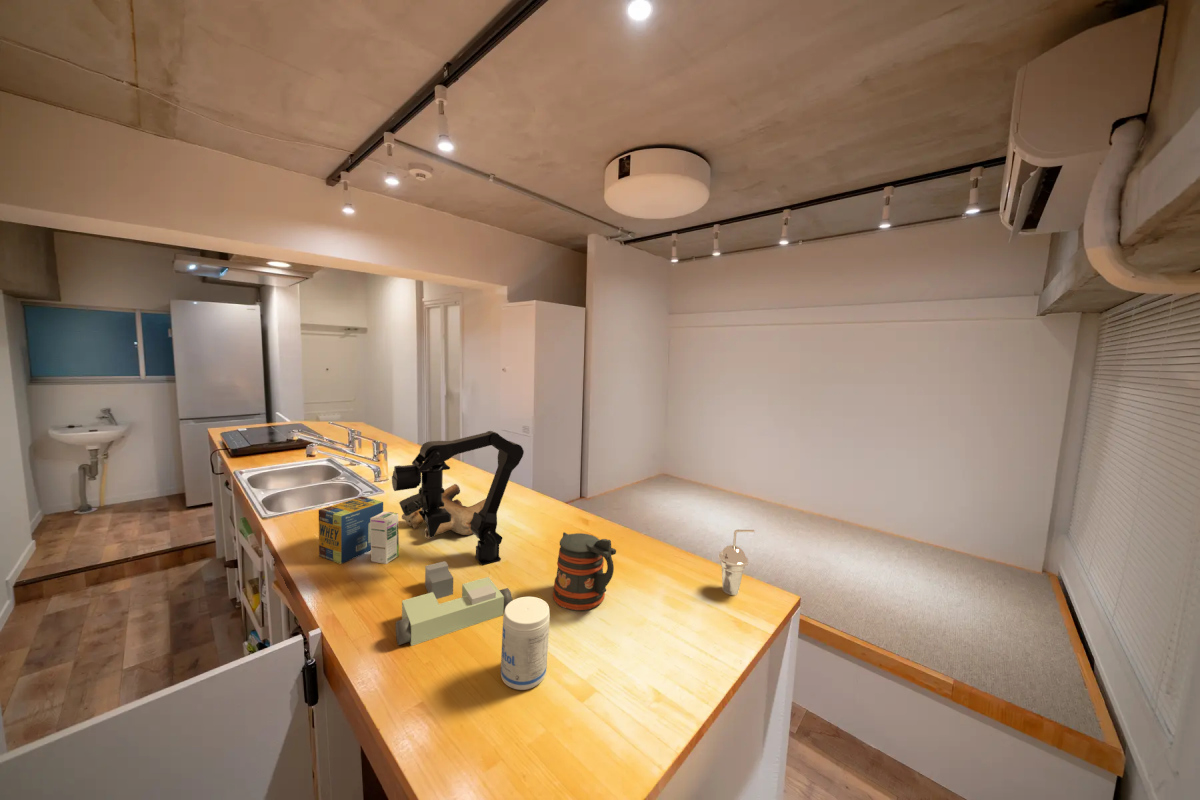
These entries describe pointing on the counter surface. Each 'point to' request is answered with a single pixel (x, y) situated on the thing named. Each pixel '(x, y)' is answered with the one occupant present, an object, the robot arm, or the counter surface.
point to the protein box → (347, 528)
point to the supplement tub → (525, 642)
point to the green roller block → (450, 611)
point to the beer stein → (582, 571)
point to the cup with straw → (733, 566)
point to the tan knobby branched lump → (459, 513)
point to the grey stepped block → (439, 580)
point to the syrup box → (384, 537)
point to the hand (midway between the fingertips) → (431, 536)
